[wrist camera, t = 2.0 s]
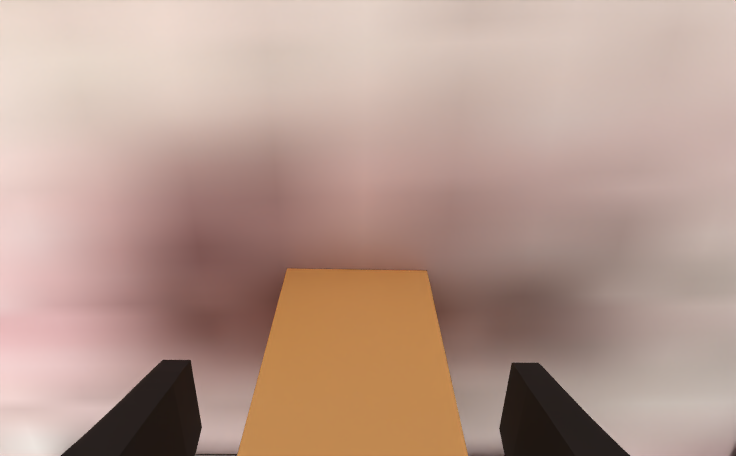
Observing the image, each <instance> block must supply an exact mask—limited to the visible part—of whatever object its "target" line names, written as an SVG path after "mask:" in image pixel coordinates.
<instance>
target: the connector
mask: <svg viewBox="0 0 736 456" xmlns="http://www.w3.org/2000/svg"><path fill="white" fill-rule="evenodd" d="M237 456H468V453H467V449H466V444H465V440H464V435H463V431H462V426H461V422H460V417H459V413H458V408H457V404H456V399H455V395H454V390H453V386H452V381H451V377H450V372H449V368H448V363H447V359H446V354H445V350H444V345H443V341H442V336H441V332H440V327H439V323H438V318H437V314H436V310H435V305H434V301H433V296H432V292H431V287H430V283H429V278H428V274H427V271H424V270H357V269H289V268H287V271H286V274H285V278H284V282H283V286H282V289H281V293H280V297H279V301H278V304H277V308H276V312H275V316H274V319H273V323H272V327H271V331H270V334H269V338H268V342H267V346H266V349H265V353H264V357H263V361H262V364H261V368H260V372H259V376H258V379H257V383H256V387H255V391H254V394H253V398H252V402H251V406H250V409H249V413H248V417H247V421H246V424H245V428H244V432H243V436H242V439H241V443H240V447H239V451H238V454H237Z"/></svg>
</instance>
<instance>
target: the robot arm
mask: <svg viewBox="0 0 736 456" xmlns="http://www.w3.org/2000/svg"><path fill="white" fill-rule="evenodd" d="M201 428H202V426H201V420H200V414H199V408H198V402H197V396H196V390H195V384H194V378H193V372H192V366H191V360H162V361H161V362H160V363H159V364H158V365H157V366H156V367H155V368H154V369H153V370H152V371H151V372H150V373H149V374H148V375H147V376H146V377H145V378H143V379H142V380H141V381H140V382H139V383H138V384H137V385H136V386H135V387H134V388H133V389H132V390H131V391H130V392H129V393H128V394H127V395H126V396H125V397H124V398H123V399H122V400H121V401H120V402H119V403H118V404H117V405H116V406H115V407H114V408H113V409H112V410H110V411H109V412H108V413H107V414H106V415H105V416H104V417H103V418H102V419H101V420H100V421H99V422H98V423H97V424H96V425H94V426H93V427H92V428H91V429H90V430H89V431H88V432H87V433H86V434H85V435H84V436H83V437H81V438H80V439H79V440H78V441H77V442H76V443H75V444H74V445H72V446H71V447H70V448H69V449H68V450H67V451H65V452H64V453H63V454H62V455H61V456H195V453H196V449H197V445H198V441H199V437H200V433H201ZM499 429H500V434H501V439H502V444H503V449H504V454H505V456H630V455H629V454H628V453H627V452H626V451H625V450H623V449H622V448H621V447H620V446H619V445H618V444H617V443H616V442H615V441H614V440H613V439H612V438H611V437H610V436H609V435H608V434H607V433H606V432H605V431H604V430H603V429H602V428H601V427H600V426H599V425H598V424H597V423H596V422H595V421H594V420H593V419H592V418H591V417H590V416H589V415H588V414H587V413H586V412H585V411H584V410H583V409H582V408H581V407H580V406H579V405H578V404H577V403H576V402H575V401H574V400H573V399H572V397H571V396H570V395H569V394H568V393H567V392H566V391H565V390H564V389H563V388H562V387H561V386H560V385H559V384H558V383H557V382H556V381H555V379H554V378H553V377H552V376H551V375H550V374H549V373H548V372H547V371H546V370H545V369H544V368H543V367H542V366H541V365H540V364H539V363H512V365H511V370H510V375H509V381H508V386H507V391H506V397H505V402H504V407H503V412H502V418H501V423H500V428H499Z"/></svg>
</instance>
